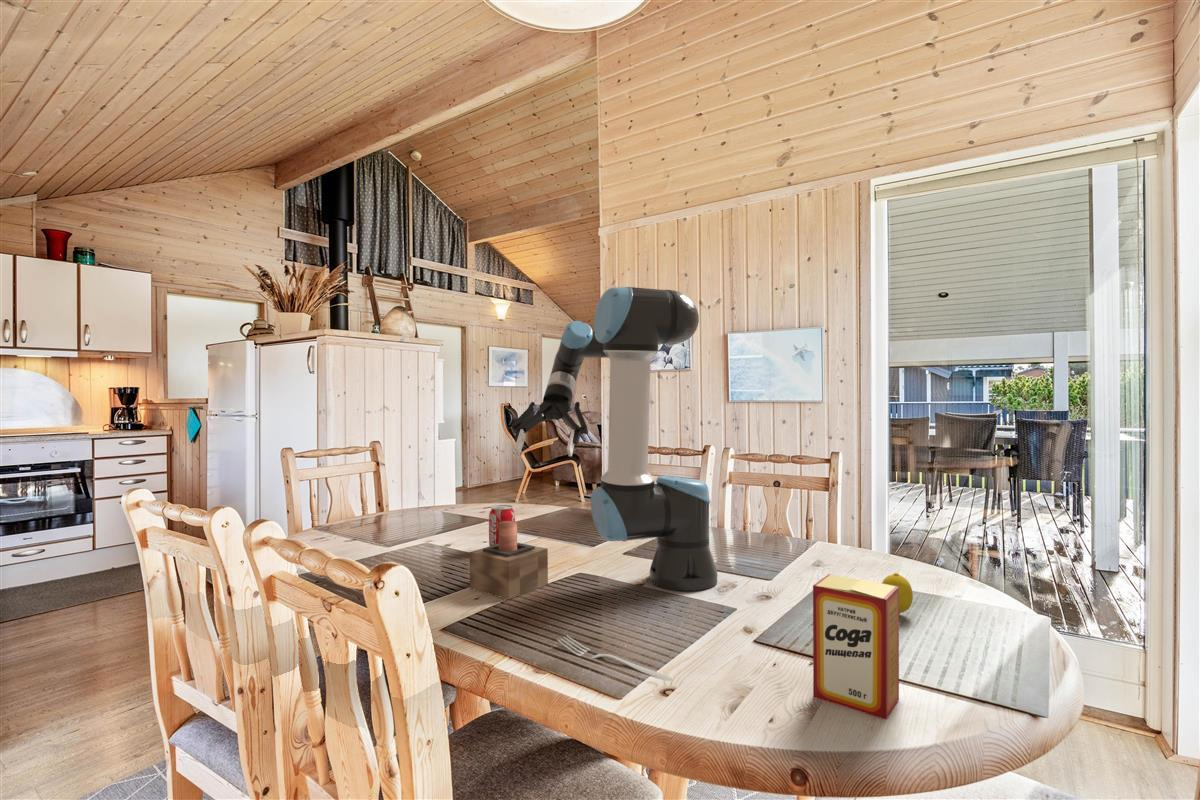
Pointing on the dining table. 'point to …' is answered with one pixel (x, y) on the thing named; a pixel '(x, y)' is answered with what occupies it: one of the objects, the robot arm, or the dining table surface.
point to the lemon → (901, 590)
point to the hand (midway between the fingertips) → (542, 452)
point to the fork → (639, 668)
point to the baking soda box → (856, 644)
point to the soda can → (498, 521)
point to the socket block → (508, 570)
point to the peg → (508, 536)
